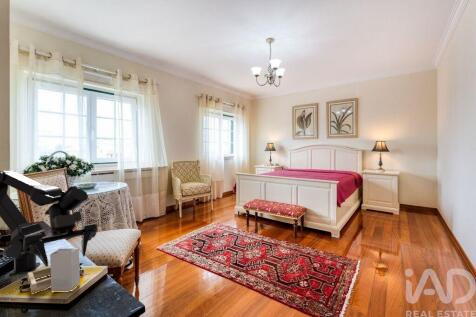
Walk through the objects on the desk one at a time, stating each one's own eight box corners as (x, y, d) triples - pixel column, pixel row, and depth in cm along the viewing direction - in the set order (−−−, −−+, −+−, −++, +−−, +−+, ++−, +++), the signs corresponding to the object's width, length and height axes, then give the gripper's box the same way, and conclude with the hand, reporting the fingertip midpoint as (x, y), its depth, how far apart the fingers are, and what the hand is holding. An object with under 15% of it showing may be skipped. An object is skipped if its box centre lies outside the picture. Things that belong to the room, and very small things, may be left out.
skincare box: (80, 284, 70) (80, 247, 70) (71, 293, 66) (71, 253, 66) (60, 285, 70) (60, 247, 70) (49, 294, 65) (49, 254, 65)
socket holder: (27, 281, 72) (27, 272, 72) (66, 270, 79) (66, 261, 79) (32, 294, 65) (32, 284, 65) (73, 280, 73) (73, 271, 73)
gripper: (23, 209, 65) (26, 258, 58) (96, 200, 79) (105, 239, 71) (22, 229, 71) (24, 276, 63) (90, 218, 84) (98, 255, 77)
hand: (66, 260), depth 69 cm, fingers open, 9 cm apart
